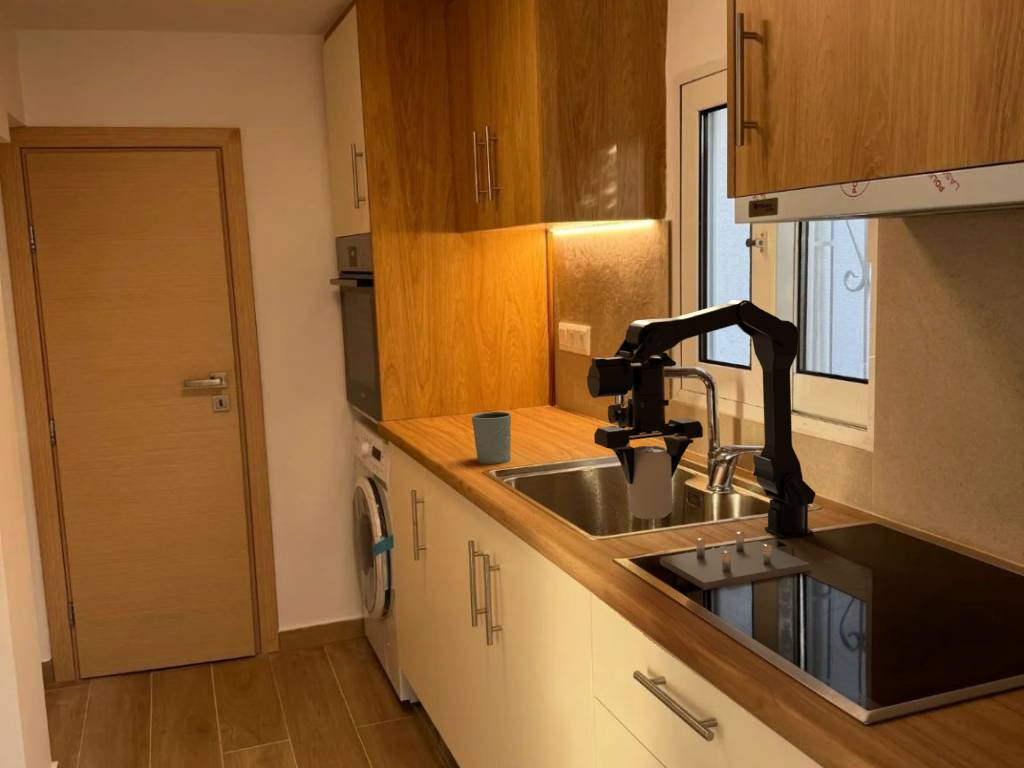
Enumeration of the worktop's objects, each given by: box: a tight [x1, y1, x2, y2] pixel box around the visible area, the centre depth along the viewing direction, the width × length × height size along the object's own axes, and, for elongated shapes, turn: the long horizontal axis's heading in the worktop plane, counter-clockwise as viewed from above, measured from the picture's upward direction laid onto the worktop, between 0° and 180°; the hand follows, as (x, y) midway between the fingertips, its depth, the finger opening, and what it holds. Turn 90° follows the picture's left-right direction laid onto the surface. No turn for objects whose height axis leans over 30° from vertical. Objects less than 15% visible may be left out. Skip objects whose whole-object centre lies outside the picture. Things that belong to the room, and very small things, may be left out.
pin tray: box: [659, 531, 811, 591], centre depth 163 cm, size 20×14×4 cm
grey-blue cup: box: [471, 411, 512, 465], centre depth 252 cm, size 10×10×12 cm
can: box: [628, 445, 673, 520], centre depth 172 cm, size 8×8×12 cm
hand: (650, 480), depth 172 cm, fingers closed on can, 7 cm apart
